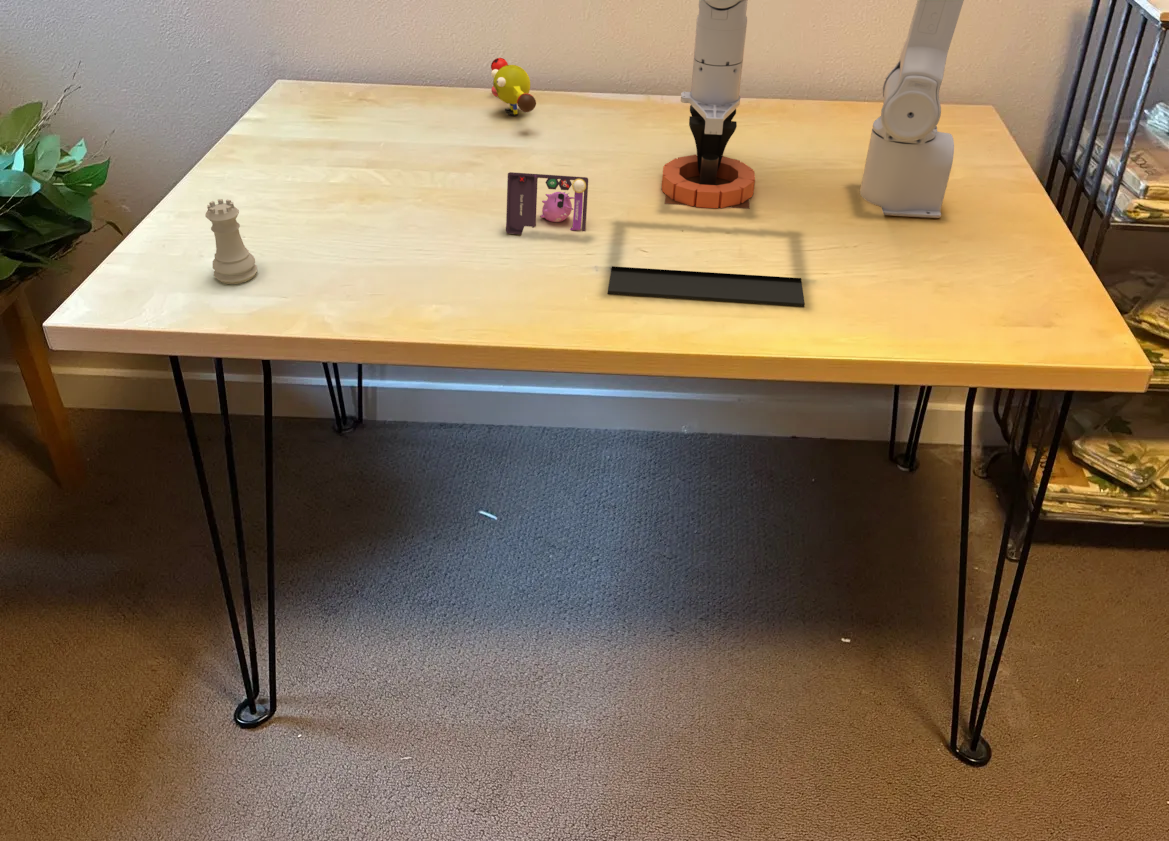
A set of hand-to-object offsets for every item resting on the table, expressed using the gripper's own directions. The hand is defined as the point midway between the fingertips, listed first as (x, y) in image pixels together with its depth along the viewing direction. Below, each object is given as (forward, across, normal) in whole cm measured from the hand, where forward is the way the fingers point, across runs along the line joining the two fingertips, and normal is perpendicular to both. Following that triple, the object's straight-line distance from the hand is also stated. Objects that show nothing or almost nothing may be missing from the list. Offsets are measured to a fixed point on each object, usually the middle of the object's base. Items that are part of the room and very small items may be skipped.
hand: (707, 169), depth 122 cm
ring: (0, +4, 0) cm, 5 cm away
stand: (+2, +4, 0) cm, 5 cm away
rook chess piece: (+2, +30, -49) cm, 58 cm away
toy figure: (+2, -20, -28) cm, 34 cm away
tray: (+2, +22, 0) cm, 22 cm away
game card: (+2, +16, -18) cm, 24 cm away
